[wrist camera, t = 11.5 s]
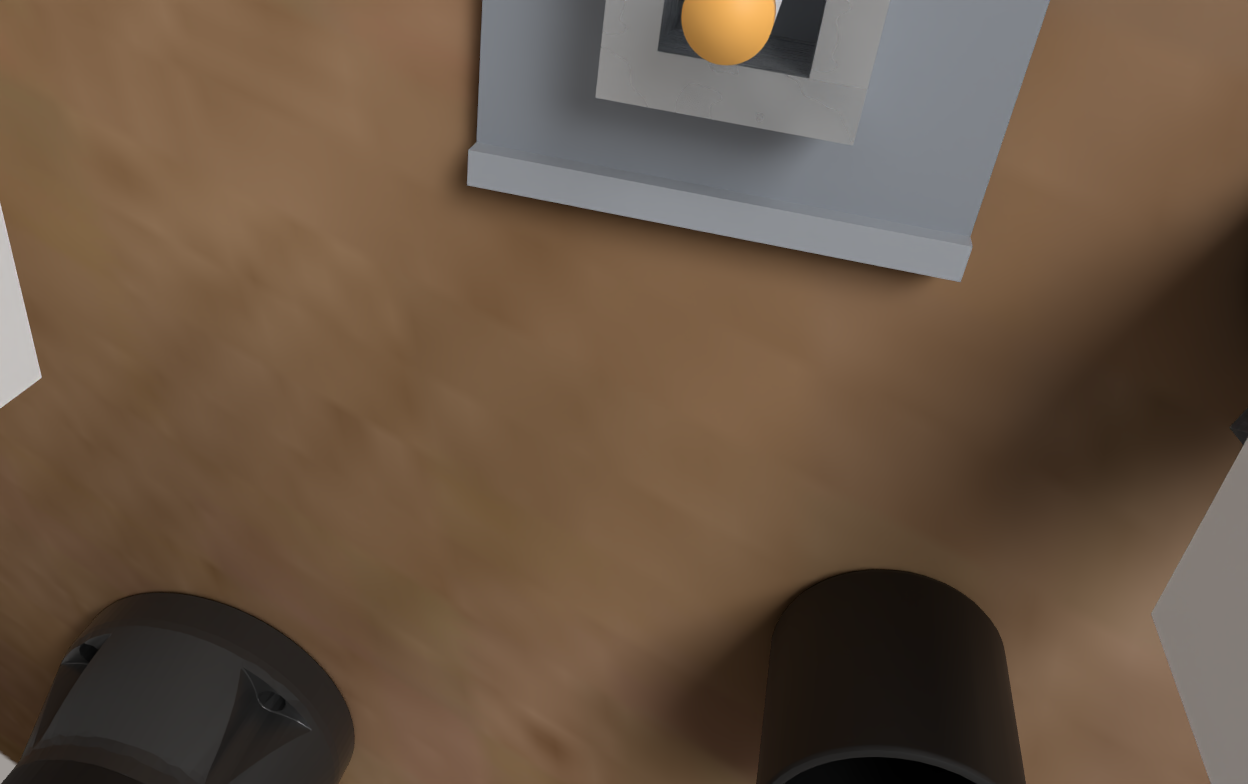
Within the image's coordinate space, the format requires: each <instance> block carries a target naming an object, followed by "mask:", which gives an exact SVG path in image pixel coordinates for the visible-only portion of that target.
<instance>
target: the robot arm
mask: <svg viewBox="0 0 1248 784" xmlns="http://www.w3.org/2000/svg"><path fill="white" fill-rule="evenodd" d="M41 378H42V376H41V372H40V368H39V364H38V359H37V355H36V351H35V347H34V343H33V339H32V334H31V330H30V326H29V322H28V318H27V313H26V309H25V305H24V301H23V297H22V292H21V288H20V284H19V280H18V276H17V272H16V267H15V263H14V259H13V255H12V251H11V246H10V242H9V238H8V234H7V230H6V225H5V221H4V217H3V213H2V209H1V205H0V408H1V407H3V406H4V405H5V404H7V403H8V402H10V401H11V400H12V399H14V398H15V397H16V396H18V395H19V394H20V393H22V392H23V391H24V390H26V389H27V388H28V387H30V386H31V385H32V384H34V383H35V382H37V381H38V380H39V379H41ZM1151 615H1152V618H1153V621H1154V623H1155V626H1156V629H1157V632H1158V635H1159V638H1160V640H1161V643H1162V646H1163V649H1164V652H1165V655H1166V658H1167V660H1168V663H1169V666H1170V669H1171V672H1172V675H1173V677H1174V680H1175V683H1176V686H1177V689H1178V692H1179V694H1180V697H1181V700H1182V703H1183V706H1184V709H1185V711H1186V714H1187V717H1188V720H1189V723H1190V726H1191V729H1192V731H1193V734H1194V737H1195V740H1196V743H1197V746H1198V748H1199V751H1200V754H1201V757H1202V760H1203V763H1204V765H1205V768H1206V771H1207V774H1208V777H1209V780H1210V782H1211V784H1248V438H1247V440H1246V442H1245V443H1244V445H1243V447H1242V449H1241V451H1240V453H1239V454H1238V456H1237V458H1236V460H1235V462H1234V464H1233V465H1232V467H1231V469H1230V471H1229V473H1228V474H1227V476H1226V478H1225V480H1224V482H1223V484H1222V485H1221V487H1220V489H1219V491H1218V493H1217V495H1216V496H1215V498H1214V500H1213V502H1212V504H1211V505H1210V507H1209V509H1208V511H1207V513H1206V515H1205V516H1204V518H1203V520H1202V522H1201V524H1200V526H1199V527H1198V529H1197V531H1196V533H1195V535H1194V536H1193V538H1192V540H1191V542H1190V544H1189V546H1188V547H1187V549H1186V551H1185V553H1184V555H1183V557H1182V558H1181V560H1180V562H1179V564H1178V566H1177V567H1176V569H1175V571H1174V573H1173V575H1172V577H1171V578H1170V580H1169V582H1168V584H1167V586H1166V588H1165V589H1164V591H1163V593H1162V595H1161V597H1160V598H1159V600H1158V602H1157V604H1156V606H1155V608H1154V609H1153V611H1152V613H1151ZM353 749H354V728H353V723H352V719H351V716H350V713H349V710H348V708H347V705H346V703H345V701H344V699H343V697H342V696H341V694H340V692H339V690H338V689H337V687H336V686H335V684H334V683H333V682H332V680H331V679H330V678H329V676H328V675H327V674H326V673H325V672H324V670H323V669H322V668H321V667H320V666H319V665H318V664H317V663H316V662H315V661H314V660H313V659H312V658H311V657H310V656H309V655H308V654H307V653H306V652H305V651H304V650H302V649H301V648H300V647H299V646H298V645H296V644H295V643H294V642H292V641H291V640H290V639H288V638H287V637H286V636H284V635H283V634H281V633H280V632H278V631H277V630H275V629H274V628H272V627H270V626H269V625H267V624H265V623H264V622H262V621H260V620H258V619H256V618H254V617H252V616H250V615H248V614H246V613H244V612H242V611H239V610H237V609H235V608H232V607H229V606H227V605H224V604H221V603H218V602H215V601H211V600H208V599H204V598H200V597H195V596H190V595H184V594H175V593H148V594H140V595H135V596H131V597H127V598H124V599H122V600H119V601H117V602H115V603H113V604H111V605H110V606H108V607H107V608H105V609H104V610H103V611H102V612H101V613H100V614H99V615H98V616H97V617H96V618H95V619H94V620H93V621H92V622H91V623H90V625H89V626H88V627H87V628H86V629H85V630H84V631H83V632H82V633H81V635H80V636H79V637H78V638H77V639H76V640H75V641H74V642H73V644H72V645H71V647H70V648H69V650H68V651H67V653H66V654H65V656H64V658H63V660H62V663H61V665H60V667H59V670H58V672H57V674H56V677H55V679H54V681H53V684H52V686H51V689H50V691H49V693H48V696H47V698H46V701H45V703H44V705H43V708H42V710H41V712H40V715H39V717H38V720H37V722H36V724H35V727H34V729H33V731H32V734H31V736H30V739H29V741H28V743H27V746H26V748H25V750H24V753H23V755H22V758H21V759H20V761H19V763H18V764H17V765H16V766H15V768H14V769H13V770H12V771H11V773H10V774H9V775H8V776H7V778H6V779H5V780H4V781H3V782H2V783H1V784H338V783H339V781H340V779H341V777H342V775H343V773H344V772H345V770H346V768H347V766H348V764H349V762H350V759H351V757H352V754H353Z"/></svg>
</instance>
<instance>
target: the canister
mask: <svg viewBox="0 0 1248 784" xmlns="http://www.w3.org/2000/svg"><path fill="white" fill-rule="evenodd" d="M1229 428H1230V429H1231V430H1232V431H1233V433H1234V434H1235V435H1236V436H1237V438H1238V439H1239V440H1240V441H1241V443H1242V444H1243V445H1244V443H1245V442H1246V440H1247V438H1248V408H1247V409H1246V410H1245V411H1244V412H1243V413H1242V414H1241V415H1240V416H1239V417H1238V419H1237V420H1236V421H1235V422H1234V423H1233V424H1232V425H1231V426H1230V427H1229Z"/></svg>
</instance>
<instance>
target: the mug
mask: <svg viewBox="0 0 1248 784" xmlns="http://www.w3.org/2000/svg"><path fill="white" fill-rule="evenodd" d="M756 784H1026V781H1025V775H1024V769H1023V762H1022V756H1021V750H1020V744H1019V737H1018V731H1017V725H1016V719H1015V712H1014V706H1013V700H1012V693H1011V687H1010V681H1009V675H1008V668H1007V662H1006V656H1005V651H1004V646H1003V642H1002V640H1001V637H1000V635H999V633H998V630H997V629H996V627H995V626H994V624H993V623H992V622H991V620H990V619H989V618H988V616H987V615H986V614H985V613H984V612H983V611H982V610H981V609H980V608H979V607H978V606H977V605H976V604H975V603H974V602H973V601H972V600H971V599H969V598H968V597H967V596H965V595H964V594H962V593H961V592H959V591H958V590H956V589H954V588H952V587H950V586H949V585H947V584H945V583H942V582H940V581H937V580H934V579H932V578H929V577H926V576H922V575H918V574H914V573H910V572H902V571H895V570H866V571H857V572H851V573H847V574H842V575H838V576H835V577H832V578H830V579H827V580H824V581H822V582H820V583H818V584H816V585H814V586H813V587H811V588H809V589H807V590H806V591H805V592H803V593H802V594H801V595H800V596H798V597H797V598H796V599H795V600H794V601H793V602H792V603H791V604H790V605H789V607H788V608H787V609H786V610H785V611H784V612H783V614H782V616H781V617H780V619H779V621H778V622H777V624H776V627H775V629H774V632H773V635H772V641H771V651H770V660H769V670H768V679H767V688H766V698H765V707H764V717H763V726H762V736H761V745H760V754H759V764H758V773H757V783H756Z"/></svg>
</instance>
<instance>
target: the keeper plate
mask: <svg viewBox="0 0 1248 784" xmlns="http://www.w3.org/2000/svg"><path fill="white" fill-rule="evenodd" d="M1049 1H1050V0H890V3H889V7H888V11H887V15H886V19H885V22H884V26H883V30H882V34H881V38H880V42H879V46H878V50H877V54H876V58H875V62H874V65H873V69H872V73H871V77H870V81H869V85H868V89H867V93H866V97H865V101H864V105H863V109H862V112H861V116H860V120H859V124H858V128H857V132H856V136H855V140H854V144H853V145H847V144H842V143H836V142H831V141H826V140H820V139H815V138H809V137H804V136H799V135H793V134H788V133H783V132H777V131H772V130H766V129H761V128H756V127H750V126H745V125H739V124H734V123H729V122H723V121H718V120H713V119H707V118H702V117H696V116H691V115H686V114H680V113H675V112H670V111H664V110H659V109H653V108H648V107H643V106H637V105H632V104H626V103H621V102H616V101H610V100H605V99H600V98H595V97H596V87H597V78H598V69H599V60H600V50H601V41H602V32H603V22H604V13H605V4H606V0H483V1H482V25H481V48H480V71H479V95H478V118H477V142H476V143H475V144H474V145H473V146H472V147H471V148H470V149H469V150H468V175H467V185H469V186H474V187H479V188H484V189H489V190H494V191H499V192H504V193H509V194H514V195H519V196H525V197H530V198H535V199H540V200H545V201H550V202H555V203H560V204H565V205H570V206H576V207H581V208H586V209H591V210H596V211H601V212H606V213H611V214H616V215H621V216H627V217H632V218H637V219H642V220H647V221H652V222H657V223H662V224H667V225H672V226H677V227H683V228H688V229H693V230H698V231H703V232H708V233H713V234H718V235H723V236H728V237H734V238H739V239H744V240H749V241H754V242H759V243H764V244H769V245H774V246H779V247H784V248H790V249H795V250H800V251H805V252H810V253H815V254H820V255H825V256H830V257H835V258H841V259H846V260H851V261H856V262H861V263H866V264H871V265H876V266H881V267H886V268H891V269H897V270H902V271H907V272H912V273H917V274H922V275H927V276H932V277H937V278H942V279H948V280H953V281H958V282H961V279H962V276H963V273H964V270H965V268H966V265H967V262H968V259H969V256H970V253H971V250H972V242H971V238H970V236H971V233H972V230H973V227H974V224H975V221H976V218H977V215H978V212H979V209H980V206H981V203H982V200H983V197H984V194H985V191H986V188H987V185H988V182H989V179H990V176H991V174H992V171H993V168H994V165H995V162H996V159H997V156H998V153H999V150H1000V147H1001V144H1002V141H1003V138H1004V135H1005V132H1006V129H1007V126H1008V123H1009V120H1010V117H1011V114H1012V111H1013V108H1014V105H1015V102H1016V99H1017V96H1018V93H1019V90H1020V87H1021V85H1022V82H1023V79H1024V76H1025V73H1026V70H1027V67H1028V64H1029V61H1030V58H1031V55H1032V52H1033V49H1034V46H1035V43H1036V40H1037V37H1038V34H1039V31H1040V28H1041V25H1042V22H1043V19H1044V16H1045V13H1046V10H1047V7H1048V4H1049ZM824 2H825V0H683V6H682V13H681V20H682V28H683V32H684V35H685V38H686V40H687V42H688V43H689V45H690V47H691V48H692V49H693V50H694V51H695V52H696V53H697V54H698V55H699V56H700V57H702V58H703V59H705V60H707V61H709V62H711V63H714V64H718V65H736V64H739V63H743V62H745V61H747V60H749V59H750V58H752V57H754V56H755V55H756V54H757V53H758V52H759V51H760V50H761V49H762V48H763V46H764V45H765V44H766V42H767V40H768V38H769V36H770V35H772V36H778V37H784V38H789V39H795V40H801V41H806V42H812V43H816V39H817V34H818V30H819V25H820V20H821V16H822V11H823V7H824Z"/></svg>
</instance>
